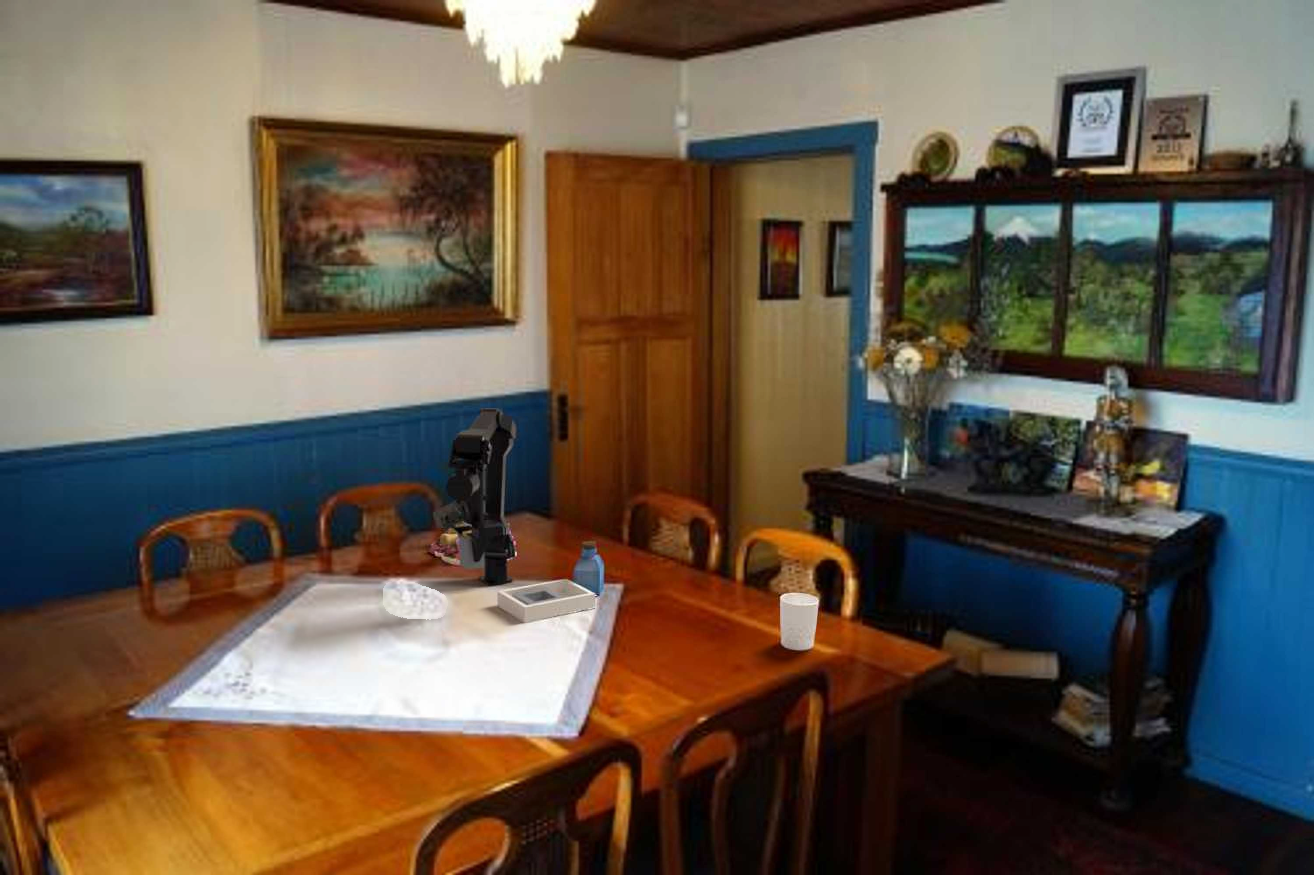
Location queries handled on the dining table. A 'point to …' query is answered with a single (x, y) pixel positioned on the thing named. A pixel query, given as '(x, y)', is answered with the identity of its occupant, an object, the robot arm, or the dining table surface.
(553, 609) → the box
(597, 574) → the perfume bottle
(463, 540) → the plug
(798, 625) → the white cup
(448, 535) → the food platter
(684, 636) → the dining table surface
